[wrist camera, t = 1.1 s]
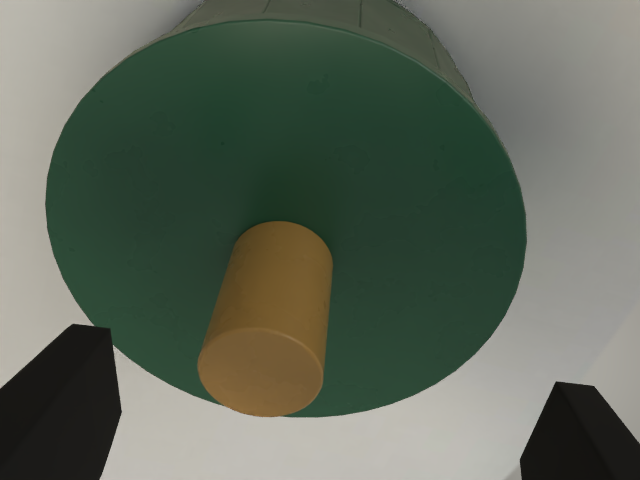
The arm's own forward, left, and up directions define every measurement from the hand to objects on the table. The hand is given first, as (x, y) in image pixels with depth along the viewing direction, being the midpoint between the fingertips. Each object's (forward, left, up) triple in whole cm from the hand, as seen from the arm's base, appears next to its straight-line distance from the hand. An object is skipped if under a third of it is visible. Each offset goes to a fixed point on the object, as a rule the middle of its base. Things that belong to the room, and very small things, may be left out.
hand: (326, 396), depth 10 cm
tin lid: (0, +1, -5) cm, 5 cm away
